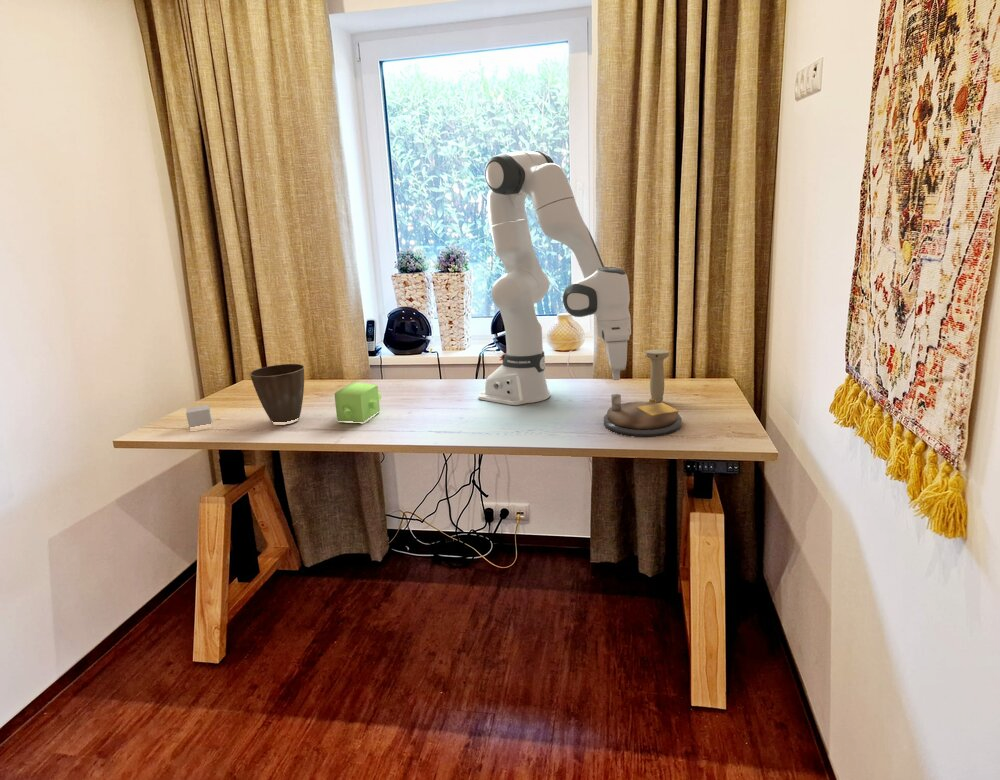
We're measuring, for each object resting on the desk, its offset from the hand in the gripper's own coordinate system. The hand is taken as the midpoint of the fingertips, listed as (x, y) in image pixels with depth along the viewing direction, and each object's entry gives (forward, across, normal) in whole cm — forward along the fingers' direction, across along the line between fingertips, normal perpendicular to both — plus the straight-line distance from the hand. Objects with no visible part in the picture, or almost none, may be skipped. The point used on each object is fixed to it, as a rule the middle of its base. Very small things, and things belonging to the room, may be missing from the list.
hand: (616, 378), depth 169 cm
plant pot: (+8, -3, -97) cm, 97 cm away
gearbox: (+8, -3, -74) cm, 75 cm away
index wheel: (+9, +8, +6) cm, 13 cm away
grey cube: (+7, 0, -122) cm, 122 cm away
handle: (+11, -11, +12) cm, 20 cm away
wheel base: (+10, +8, +6) cm, 14 cm away
